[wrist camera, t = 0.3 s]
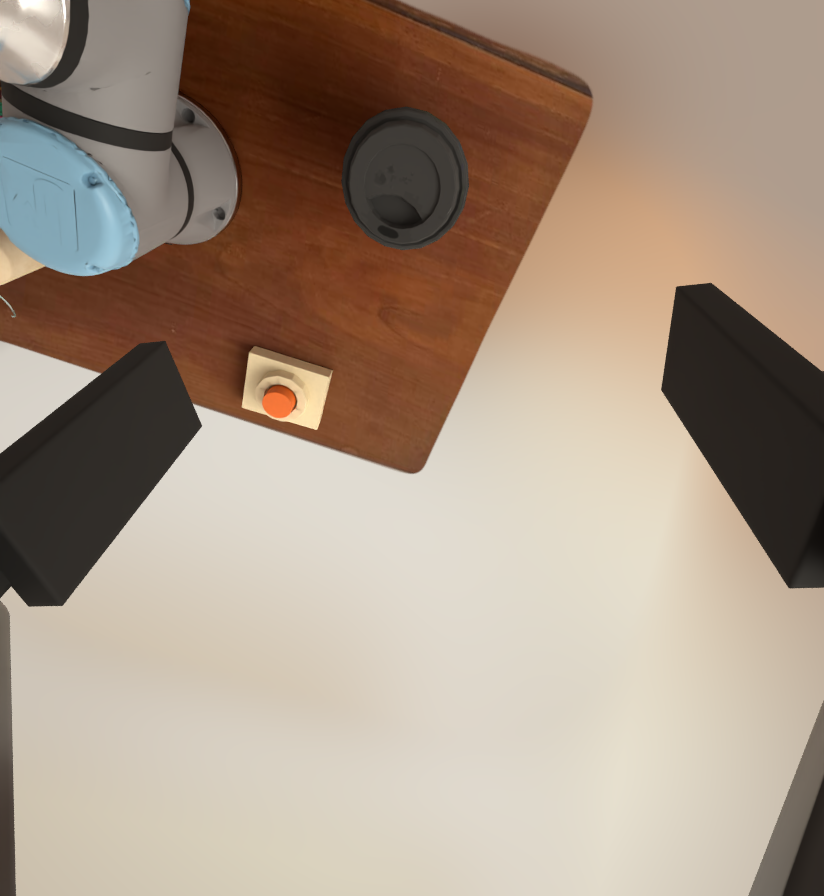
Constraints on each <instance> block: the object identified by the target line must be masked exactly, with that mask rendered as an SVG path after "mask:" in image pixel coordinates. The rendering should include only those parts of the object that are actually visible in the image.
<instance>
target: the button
mask: <svg viewBox="0 0 824 896" xmlns="http://www.w3.org/2000/svg"><path fill="white" fill-rule="evenodd" d="M295 403H296V398H295V395H294V393H293V392H292V391H291V390H290V389H289V388H287V387H285V386H282V385H275V386H272V387H271V388H269V390H268V391H267V393H266V394H265V396H264V397H263V400H262V405H263V408H264V410H265V411H266V412H267V413H268V414H269V415H270V416H272V417H275V418H284V417H287V416H288V415H289V414H290V413H291V411H292V409H293V407H294V405H295Z"/></svg>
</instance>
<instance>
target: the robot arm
mask: <svg viewBox="0 0 824 896" xmlns="http://www.w3.org/2000/svg"><path fill="white" fill-rule="evenodd" d="M189 11H190V2H189V0H0V80H1V95H2V115H3V118H0V228H1V229H2V230H3V231H4V232H5V234H6V235H7V237H8V238H9V240H10V241H11V242H12V243H13V244H14V245H15V246H16V247H17V248H19V249H20V250H21V251H22V252H24V253H25V254H27V255H28V256H29V257H31V258H32V259H34V260H36V261H37V262H39V263H41V264H43V265H45V266H47V267H49V268H52V269H54V270H57V271H59V272H63V273H66V274H71V275H79V276H91V275H97V274H101V273H104V272H107V271H109V270H114V269H119V268H121V267H123V266H126V265H128V264H129V263H131V262H132V261H133V260H135V259H137V258H139V257H140V256H142V255H144V254H146V253H147V252H149V251H151V250H153V249H154V248H156V247H158V246H160V245H162V244H163V243H166V242H168V243H166V244H169V243H174V244H196V243H201V242H204V241H207V240H209V239H211V238H213V237H214V236H216V235H218V234H219V233H221V232H222V231H223V230H224V229H225V228H226V227H227V226H228V225H229V224H230V223H231V222H232V220H233V218H234V217H235V215H236V213H237V210H238V208H239V204H240V200H241V194H242V176H241V169H240V165H239V161H238V158H237V155H236V152H235V149H234V147H233V145H232V143H231V141H230V139H229V137H228V135H227V134H226V132H225V130H224V129H223V128H222V126H221V125H220V124H219V122H218V121H217V120H216V119H215V118H214V117H213V115H212V114H211V113H210V112H209V111H207V110H206V109H205V108H204V107H203V106H202V105H200V104H199V103H198V102H196V101H195V100H193V99H191V98H190V97H188V96H186V95H184V94H182V93H179V92H178V90H179V82H180V74H181V66H182V58H183V51H184V43H185V35H186V27H187V19H188V14H189ZM170 245H172V244H170ZM661 390H662V392H663V393H664V395H665V396H666V398H667V400H668V401H669V403H670V404H671V406H672V407H673V409H674V411H675V412H676V414H677V415H678V417H679V418H680V420H681V421H682V423H683V425H684V426H685V428H686V429H687V431H688V432H689V434H690V435H691V437H692V439H693V440H694V441H695V443H696V445H697V446H698V448H699V449H700V451H701V452H702V454H703V455H704V457H705V458H706V460H707V462H708V463H709V465H710V466H711V468H712V469H713V471H714V473H715V474H716V476H717V477H718V479H719V480H720V482H721V484H722V485H723V486H724V488H725V490H726V491H727V493H728V494H729V496H730V497H731V499H732V501H733V502H734V504H735V505H736V507H737V508H738V510H739V511H740V513H741V515H742V516H743V518H744V519H745V521H746V522H747V524H748V525H749V527H750V528H751V530H752V532H753V533H754V535H755V536H756V538H757V539H758V541H759V543H760V544H761V546H762V547H763V549H764V550H765V552H766V553H767V555H768V556H769V558H770V560H771V561H772V563H773V564H774V566H775V567H776V569H777V570H778V572H779V574H780V575H781V577H782V578H783V580H784V581H785V583H786V584H787V586H788V587H789V588H821V587H824V371H821V370H819V369H818V368H817V367H816V366H814V365H813V364H812V363H811V362H809V361H808V360H807V359H805V358H804V357H803V356H802V355H800V354H799V353H798V352H797V351H796V350H794V349H793V348H791V346H789V345H788V344H787V343H786V342H784V341H783V340H782V339H781V338H779V337H778V336H777V335H776V334H774V333H773V332H772V331H771V330H769V329H768V328H767V327H765V326H764V325H763V324H762V323H761V322H759V321H758V320H757V319H756V318H754V317H753V316H752V315H751V314H749V313H748V312H747V311H746V310H744V309H743V308H742V307H741V306H739V305H738V304H737V303H736V302H734V301H733V300H732V299H731V298H729V297H728V296H727V295H726V294H724V293H723V292H722V291H721V290H719V289H718V288H717V287H716V286H714V285H713V284H712V283H707V284H697V285H687V286H678V287H676V292H675V300H674V306H673V313H672V320H671V327H670V333H669V340H668V348H667V354H666V361H665V368H664V375H663V382H662V388H661ZM201 427H202V425H201V422H200V420H199V418H198V415H197V413H196V411H195V409H194V406H193V404H192V402H191V399H190V397H189V395H188V392H187V390H186V388H185V385H184V383H183V381H182V379H181V376H180V374H179V372H178V369H177V367H176V365H175V362H174V360H173V358H172V355H171V353H170V351H169V349H168V346H167V344H166V342H165V341H160V342H150V343H141V344H139V345H137V346H136V347H135V348H134V349H132V350H131V351H130V352H128V353H127V354H126V355H125V356H123V357H122V358H121V359H120V360H118V361H117V362H116V363H115V364H113V365H112V366H111V367H109V368H108V369H107V370H106V371H104V372H103V373H102V374H101V375H99V376H98V377H97V378H96V379H94V380H93V381H92V382H90V383H89V384H88V385H87V386H85V387H84V388H83V389H82V390H80V391H79V392H78V393H76V394H75V395H74V396H73V397H71V398H70V399H69V400H68V401H66V402H65V403H64V404H63V405H61V406H60V407H59V408H58V409H56V410H55V411H54V412H52V413H51V414H50V415H49V416H47V417H46V418H45V419H44V420H42V421H41V422H40V423H38V424H37V425H36V426H35V427H33V428H32V429H31V430H30V431H29V432H27V433H26V434H25V435H24V436H22V437H21V438H19V439H18V440H17V441H16V442H14V443H13V444H12V445H11V446H9V447H8V448H7V449H6V450H4V451H3V452H2V453H0V598H1V597H2V596H3V594H4V593H5V592H6V591H7V590H8V589H9V588H10V587H11V586H12V588H13V589H14V590H15V591H16V592H17V593H18V595H19V596H20V597H21V598H22V599H23V601H24V602H25V603H26V604H27V605H28V606H63V605H64V603H65V602H66V601H67V599H68V598H69V597H70V595H71V594H72V593H73V592H74V590H75V589H76V588H77V586H78V585H79V584H80V583H81V581H82V580H83V579H84V577H85V576H86V575H87V574H88V572H89V571H90V569H91V568H92V567H93V566H94V565H95V563H96V562H97V561H98V559H99V558H100V557H101V555H102V554H103V553H104V552H105V550H106V549H107V548H108V547H109V545H110V544H111V543H112V541H113V540H114V539H115V538H116V536H117V535H118V534H119V532H120V531H121V530H122V529H123V527H124V526H125V525H126V523H127V522H128V521H129V520H130V518H131V517H132V516H133V514H134V513H135V512H136V510H137V509H138V508H139V507H140V505H141V504H142V503H143V501H144V500H145V499H146V498H147V496H148V495H149V494H150V492H151V491H152V490H153V489H154V487H155V486H156V484H157V483H158V482H159V481H160V480H161V478H162V477H163V476H164V474H165V473H166V472H167V471H168V469H169V468H170V467H171V465H172V464H173V463H174V462H175V460H176V459H177V458H178V456H179V455H180V454H181V453H182V451H183V450H184V449H185V447H186V446H187V444H188V443H189V442H190V441H191V440H192V438H193V437H194V436H195V434H196V433H197V432H198V431H199V429H200V428H201ZM10 661H11V660H10V616H9V612H8V610H7V608H6V607H5V606H4V605H3V603H2V602H1V601H0V896H16V884H15V840H14V799H13V752H12V706H11V664H10V663H11V662H10ZM749 896H824V701H823V704H822V706H821V709H820V712H819V714H818V717H817V719H816V722H815V724H814V727H813V730H812V732H811V735H810V738H809V740H808V743H807V745H806V748H805V750H804V753H803V755H802V758H801V761H800V763H799V766H798V769H797V771H796V774H795V776H794V779H793V781H792V784H791V787H790V789H789V792H788V795H787V797H786V800H785V802H784V805H783V807H782V810H781V813H780V815H779V818H778V821H777V823H776V825H775V828H774V831H773V833H772V836H771V839H770V841H769V844H768V846H767V849H766V852H765V854H764V857H763V859H762V862H761V864H760V867H759V870H758V872H757V875H756V877H755V880H754V883H753V885H752V888H751V890H750V893H749Z"/></svg>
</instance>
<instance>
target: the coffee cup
mask: <svg viewBox="0 0 824 896" xmlns="http://www.w3.org/2000/svg"><path fill="white" fill-rule="evenodd" d="M342 187H343V192H344V198H345V203H346V205H347V207H348V209H349V211H350V213H351V215H352V217H353V219H354V221H355V223H356V224H357V225H358V226H359V227H360V228H361V229H362V230H363V231H364V232H365V234H366V235H367V236H368V237H370V238H372V239H373V240H375V241H377V242H379V243H380V244H382V245H384V246H387V247H391V248H396V249H400V250H408V249H417V248H422V247H424V246H426V245H429V244H431V243H433V242H435V241H437V240H439V239H440V238H441V237H442V236H443V235H444V234H445V233H446V232H447V231H448V230H450V229H451V228H452V227H453V226H454V224H455V222H456V221H457V219H458V217H459V215H460V214H461V212H462V210H463V208H464V205H465V201H466V196H467V192H468V188H469V181H468V163H467V161H466V158H465V155H464V152H463V150H462V147H461V144H460V142H459V140H458V139H457V138H456V136H455V135H454V134H453V132H452V131H451V130H450V128H449V127H448V126H447V125H446V124H445V123H444V122H442V121H441V120H439V119H438V118H436V117H435V116H433V115H432V114H430V113H429V112H427V111H423V110H418V109H414V108H410V107H402V108H395V109H388V110H384V111H383V112H381V113H379V114H377V115H376V116H374V117H372V118H370V119H369V120H367V121H366V122H365V123H364V124H363V126H362V127H361V128H360V129H359V130H358V131H357V133H356V134H355V135H354V136H353V137H352V140H351V142H350V145H349V147H348V149H347V152H346V154H345V157H344V162H343V172H342Z"/></svg>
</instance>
